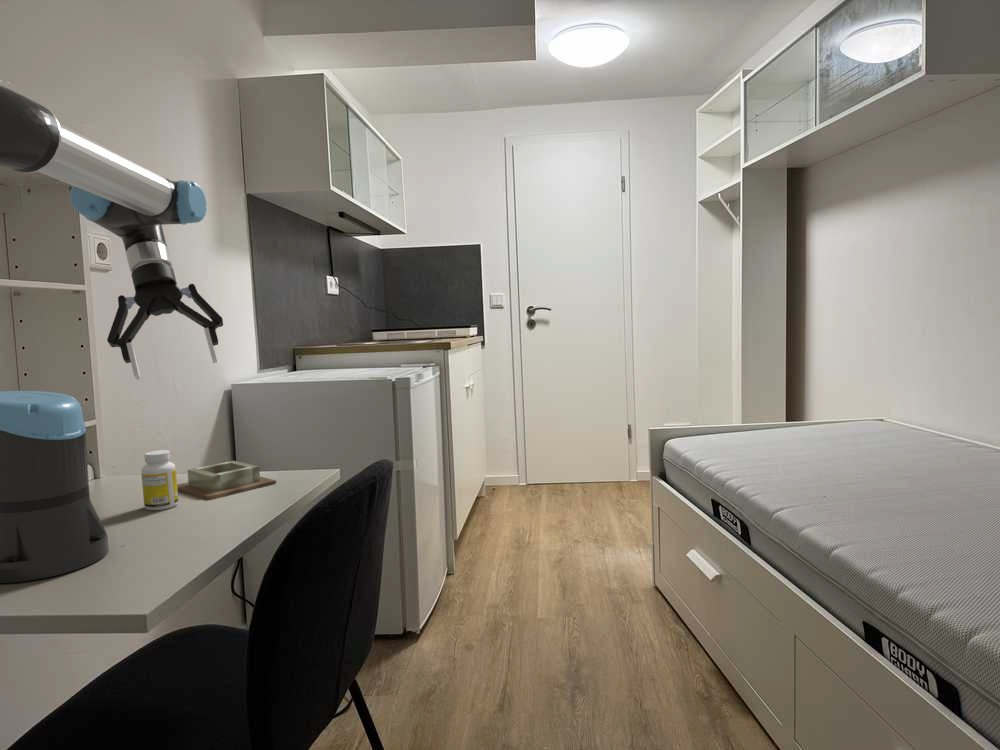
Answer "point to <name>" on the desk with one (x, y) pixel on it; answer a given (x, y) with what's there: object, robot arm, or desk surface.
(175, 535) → the desk surface
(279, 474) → the desk surface
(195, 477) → the socket board
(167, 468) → the supplement bottle
